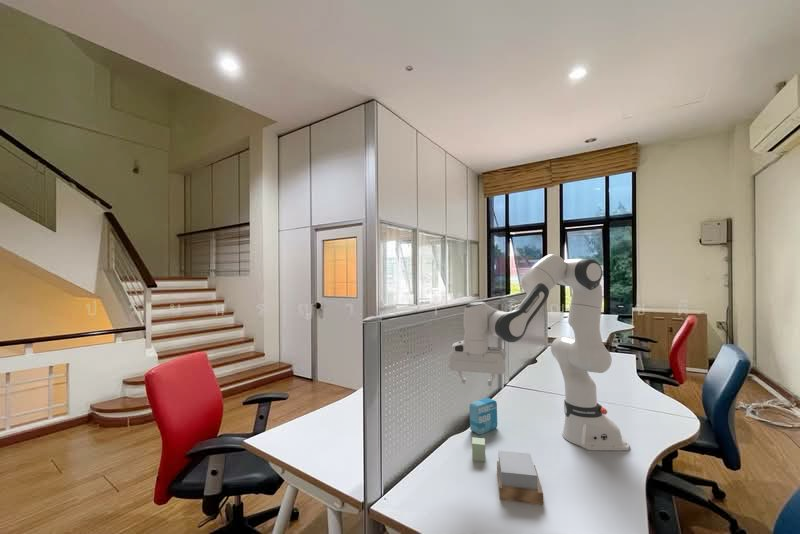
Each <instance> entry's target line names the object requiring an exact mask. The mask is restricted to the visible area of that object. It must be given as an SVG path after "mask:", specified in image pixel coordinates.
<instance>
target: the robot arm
mask: <svg viewBox="0 0 800 534" xmlns="http://www.w3.org/2000/svg"><path fill="white" fill-rule="evenodd" d="M524 273H525V274H523V276H522V278H521V281H520V282H521V288H522V290H523V291H524V292H525V294H526V296H524V299H522V301H521V302H520V303H519V305H518V306H517V307H516V308H515V309H513V310H510V311H503V310H499V309H497V308H494V307H492V306H490V305H489V304H487V303H486V302H484V301H475V302H474V301H473V302H469V303H467V304H466V305H465V307H464V311H463V328H464V334H463V335H464V336H463V340H460V341H456V342H454V343H453V344H452V345H451V352H450V353H449V358H448V369H449V370H450V371H451V372H458V373H457V374H458V376H459V378H460V379H461V384H464V385H465V384H466V382H467V381H466V379H467V378H466V377H463V373H480V374H490V379H489V378H488V379H487V386H489V387H491V386H493V382H494V380H495V378H496V375H504V374H505V373H506V364H505V360H506V358H507V352H506V350H505V349H504V348H502V347H499V346H496V347H495V346H489V337H490V336H493V337H496V338H499V339H501V340H503V341H505V342H508V343H515V342H516V343H517V342H518V341H520V340H521V339H522V338H523V337H524V336H525V334H526V332H527V330H528V327H529V325H530V323H531V321H533V319H534V318H535V316H536V314H537V313H538V312H539V311H540V310H541V308H542V307H543V305H544V304H545V303H546V301H547V300H548V298H549V295H550V292H551V290H552V289H553V288H555V286H556V285H557V286H565V287H571V290H572V295H571V300H570V305H569V313H568V319H567V322H568V325H569V326H570V327H571V328H572V330H573V334H574V337H569V336H567V337H566V336H565V337H563V336H561V337H557V338H554V340H553V341H552V343H551V345H550V352H551V355H552V356H553V357H554V358H555V361H557V363H558V366H559V369H560V371H561V375H562V377H563V383H564V395H565V396H564V398H565V399H563V400H564V401H563V409H564V411H563V412H564V415H565V417H564V425H563V429H562V434H561V435H562V437H563V438H564V439H565V440H566V441H568V442H570V443H572V444H574V445H577V446H579V447H581V448H583V449H585V450H587V451H629V450H630V444H629V442H628V440H627V439H626V438H625V437H624V436H623V435H622V433H621V430H620V428H619V426H618V425H617V424H616V423H615V422H614V420H612V419H610V418H609V417H608V416H606V415H607V414H608V410H607V409H606V408H605V407H603V406H602V405H601V404H599V403H598V399H597V398H598V397H597V385H596V383H595V381H594V379H592V377H591V376H590V374H589V373H593V374H602V373H603V374H604V373H606V372H607V371H608V370H609V369H610V368H611V366H612V361H613V360H612V358H613V357H612V355H611V353H610V351H609V350H608V349H607V348H606V346H605V344H604V342H603V339H602V334H601V330H600V329H601V328H600V327H601V315H602V307H603V289H602V288H603V287H602V285H601V281H602V277H603V269H602V266H601V264H600V262H598V261H597V260H595V259H592V258H587V257H586V258H570V259H564V258H562V256H559V255H558V254H554V253H550V254H547V255H545V256H543V257H542V258H541V259H539V260H538V261H536V263H534V264H533V265H532V266H531V267H530V268H529V269H528V270H527V271H526V272H524Z"/></svg>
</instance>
